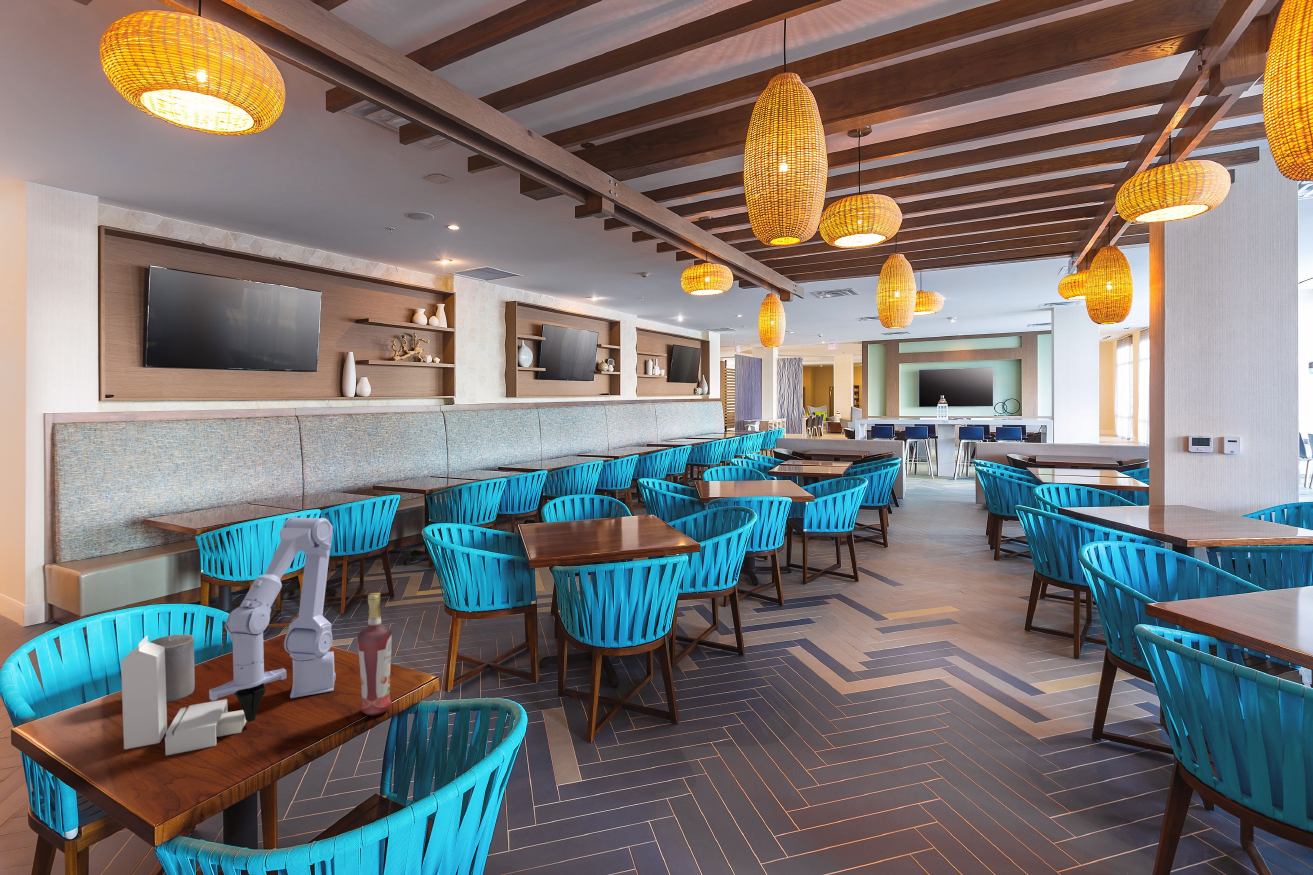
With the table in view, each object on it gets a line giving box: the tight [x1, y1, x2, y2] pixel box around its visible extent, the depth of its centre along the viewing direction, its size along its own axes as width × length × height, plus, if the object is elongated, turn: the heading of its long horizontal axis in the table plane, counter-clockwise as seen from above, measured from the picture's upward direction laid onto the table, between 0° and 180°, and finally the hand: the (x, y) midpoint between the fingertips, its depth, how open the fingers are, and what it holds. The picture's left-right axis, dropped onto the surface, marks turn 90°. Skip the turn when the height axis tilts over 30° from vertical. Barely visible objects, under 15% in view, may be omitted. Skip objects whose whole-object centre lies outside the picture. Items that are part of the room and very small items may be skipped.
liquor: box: [357, 592, 393, 717], centre depth 143 cm, size 7×7×28 cm
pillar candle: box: [149, 634, 196, 703], centre depth 152 cm, size 10×10×15 cm
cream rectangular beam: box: [216, 709, 247, 738], centre depth 135 cm, size 10×6×2 cm, turn 113°
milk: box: [120, 635, 168, 750], centre depth 131 cm, size 6×6×22 cm
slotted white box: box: [164, 698, 229, 756], centre depth 133 cm, size 8×13×4 cm, turn 26°
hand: (250, 719), depth 137 cm, fingers closed
